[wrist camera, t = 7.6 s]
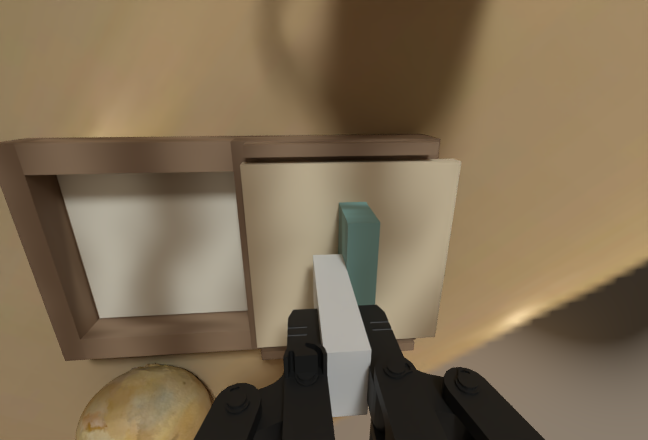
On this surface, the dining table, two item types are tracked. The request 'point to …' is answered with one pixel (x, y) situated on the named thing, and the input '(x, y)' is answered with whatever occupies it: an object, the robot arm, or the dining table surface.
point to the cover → (349, 236)
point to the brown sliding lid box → (155, 234)
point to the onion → (146, 406)
